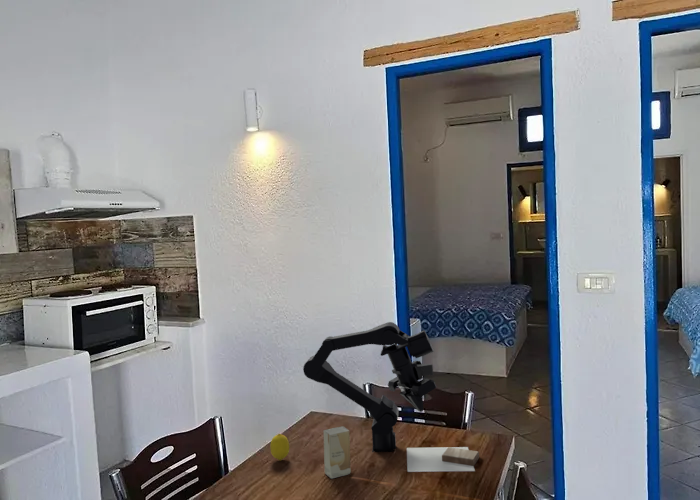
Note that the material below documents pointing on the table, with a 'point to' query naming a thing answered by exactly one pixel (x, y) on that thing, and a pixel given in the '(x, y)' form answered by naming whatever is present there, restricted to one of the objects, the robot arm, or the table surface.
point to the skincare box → (337, 452)
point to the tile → (460, 456)
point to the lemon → (279, 447)
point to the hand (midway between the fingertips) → (421, 411)
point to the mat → (432, 460)
